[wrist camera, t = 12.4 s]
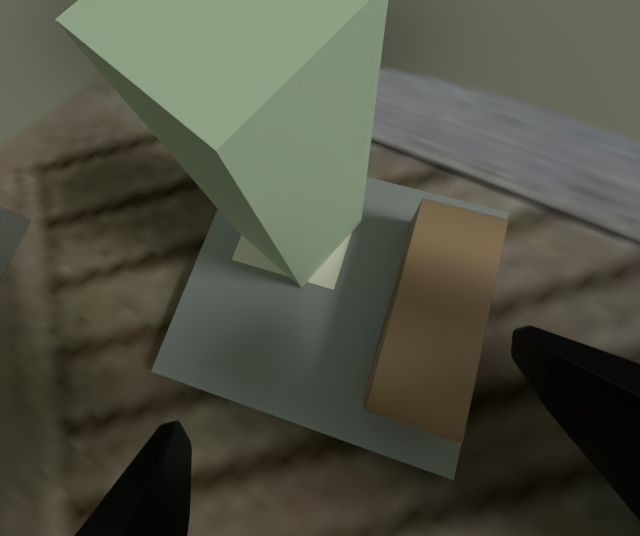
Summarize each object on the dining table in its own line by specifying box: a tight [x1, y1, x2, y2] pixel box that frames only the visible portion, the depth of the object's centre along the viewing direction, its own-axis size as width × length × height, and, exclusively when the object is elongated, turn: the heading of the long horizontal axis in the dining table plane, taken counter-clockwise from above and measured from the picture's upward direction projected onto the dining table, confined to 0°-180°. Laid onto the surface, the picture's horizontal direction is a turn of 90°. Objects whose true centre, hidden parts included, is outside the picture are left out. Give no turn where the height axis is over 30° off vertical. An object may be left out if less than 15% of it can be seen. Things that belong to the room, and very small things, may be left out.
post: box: [55, 0, 388, 288], centre depth 13 cm, size 5×5×13 cm
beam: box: [362, 198, 508, 444], centre depth 17 cm, size 10×4×3 cm, turn 163°
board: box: [151, 177, 509, 480], centre depth 19 cm, size 14×16×1 cm
